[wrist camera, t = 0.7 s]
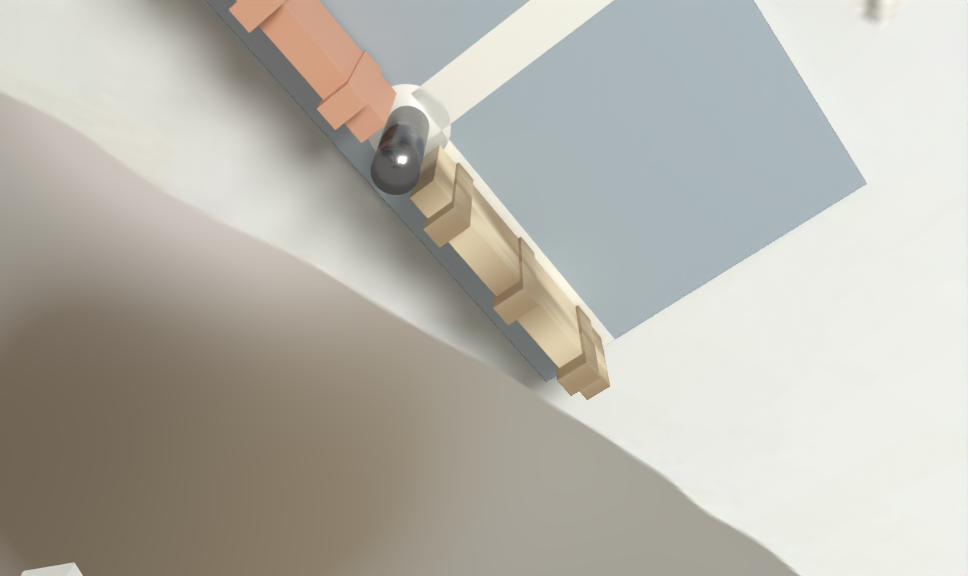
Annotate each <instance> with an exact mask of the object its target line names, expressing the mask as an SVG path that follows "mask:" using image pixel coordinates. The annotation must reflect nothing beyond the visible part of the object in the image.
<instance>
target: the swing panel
mask: <svg viewBox="0 0 968 576" xmlns="http://www.w3.org/2000/svg"><path fill="white" fill-rule="evenodd" d="M236 1H237V2H236V3H235V4H234V5H233V6H232V7H231V8H230V9H229V11H230V12H231V13H232V14H233V15H234V16H235V17H236V19H237V20H238V21H239V22H240V23H241V24H242V25H243V26H244V28H245V29H246V30H247V31H248V32H249V33H250V32H251V31H252V30H253V29H255V28H256V27H257V26H259V27H260V28H261V29H262V30H263V31H264V33H265V34H266V35H267V36H268V37H269V38H270V39H271V41H272V42H273V43H274V44H275V45H276V46H277V47H278V49H279V50H280V51H281V52H282V53H283V54H284V55H285V57H286V58H287V59H288V60H289V61H290V62H291V63H292V65H293V66H294V67H295V68H296V69H297V70H298V71H299V72H300V74H301V75H302V76H303V77H304V78H305V79H306V80H307V82H308V83H309V84H310V85H311V86H312V87H313V88H314V90H315V91H316V92H317V93H318V94H319V95H320V96H321V98H322V101H321V102H320V104H319V106H318V107H317V110H318V111H319V112H320V113H321V114H322V116H323V117H324V118H325V119H326V120H327V121H328V122H329V123H330V125H331V126H332V127H333V128H334V129H335V130H336V129H337V128H339V127H340V126H341V125H342V124H345V125H346V126H347V127H348V128H349V129H350V131H351V132H352V133H353V134H354V135H355V136H356V137H357V139H358V140H359V141H360V142H361V143H362V142H364V141H365V140H366V139H368V138H369V137H370V136H371V135H373V134H374V133H375V132H377V131H378V130H379V129H380V128H382V127H383V126H384V125H386V122H387V119H388V117H389V114H390V111H391V108H392V105H393V102H394V100H395V97H396V94H397V93H396V92H395V90H394V89H393V88H392V87H391V86H390V85H389V83H388V82H387V81H386V80H385V79H384V77H383V76H382V75H381V74H380V73H381V71H382V69H381V68H380V67H379V66H378V65H377V63H376V62H375V61H374V60H373V59H372V57H371V56H370V55H369V54H368V53H367V51H366V50H365V51H364V52H362V51H361V50H360V49H359V47H358V46H357V45H356V44H355V43H354V41H353V40H352V39H351V38H350V37H349V36H348V34H347V33H346V32H345V31H344V30H343V28H342V27H341V26H340V25H339V24H338V22H337V21H336V20H335V19H334V18H333V16H332V15H331V14H330V13H329V12H328V10H327V9H326V8H325V7H324V6H323V4H322V3H321V2H320V1H319V0H236Z"/></svg>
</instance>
